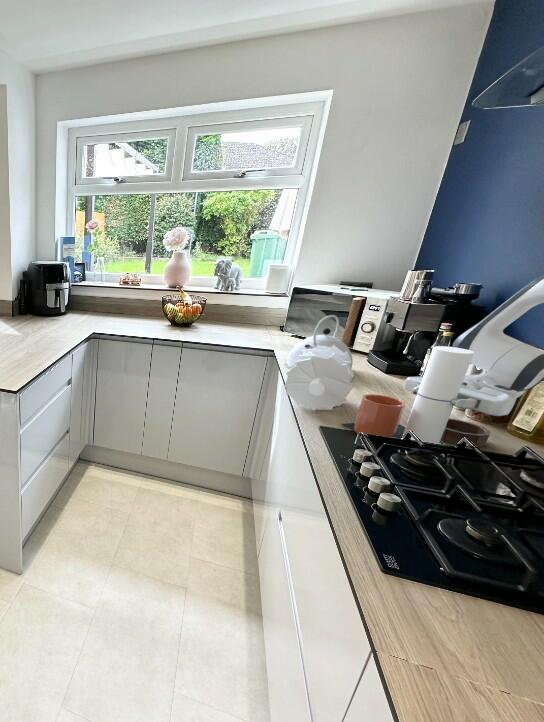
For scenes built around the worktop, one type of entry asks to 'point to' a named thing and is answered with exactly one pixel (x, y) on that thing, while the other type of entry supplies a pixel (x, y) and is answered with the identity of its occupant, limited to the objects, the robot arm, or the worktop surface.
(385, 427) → the terracotta cup
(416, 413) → the cylindrical container
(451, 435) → the holder ring
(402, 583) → the worktop surface
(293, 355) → the kettle
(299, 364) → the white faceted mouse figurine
